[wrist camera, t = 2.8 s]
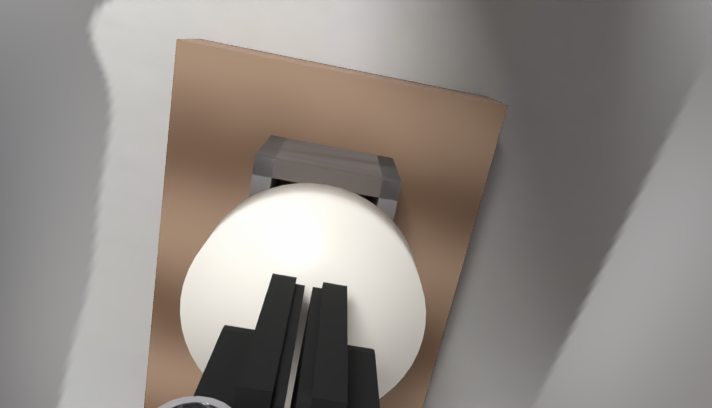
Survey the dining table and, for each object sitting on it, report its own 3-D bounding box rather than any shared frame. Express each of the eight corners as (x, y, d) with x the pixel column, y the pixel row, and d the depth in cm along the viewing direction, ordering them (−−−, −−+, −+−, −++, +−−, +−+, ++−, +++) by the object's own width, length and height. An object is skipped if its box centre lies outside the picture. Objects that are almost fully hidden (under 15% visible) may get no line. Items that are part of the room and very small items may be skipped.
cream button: (241, 136, 16) (193, 181, 11) (420, 169, 16) (452, 228, 11) (219, 298, 18) (169, 402, 13) (383, 325, 18) (396, 436, 13)
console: (200, 38, 21) (138, 39, 15) (486, 96, 22) (541, 120, 16) (159, 437, 27) (103, 556, 21) (386, 470, 28) (397, 594, 22)
